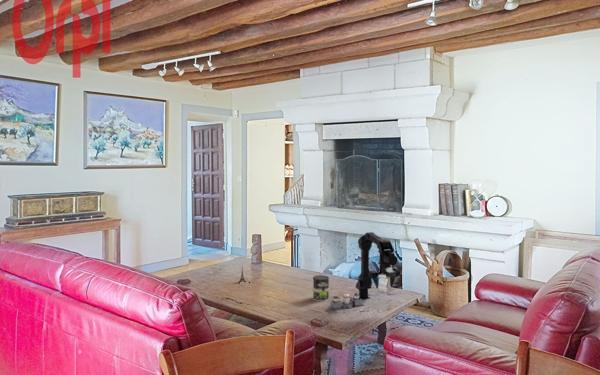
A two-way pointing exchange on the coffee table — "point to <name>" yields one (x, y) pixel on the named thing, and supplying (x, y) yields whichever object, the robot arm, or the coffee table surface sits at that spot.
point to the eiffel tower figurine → (242, 278)
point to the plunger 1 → (336, 299)
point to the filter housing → (341, 305)
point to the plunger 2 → (356, 296)
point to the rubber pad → (331, 311)
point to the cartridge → (346, 299)
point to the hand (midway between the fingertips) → (384, 287)
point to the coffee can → (320, 288)
